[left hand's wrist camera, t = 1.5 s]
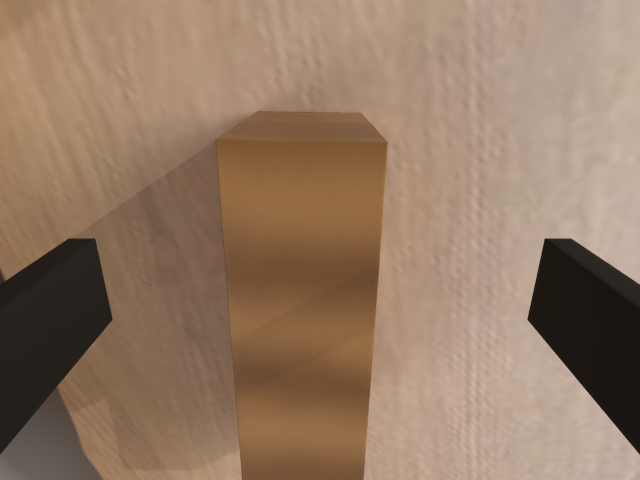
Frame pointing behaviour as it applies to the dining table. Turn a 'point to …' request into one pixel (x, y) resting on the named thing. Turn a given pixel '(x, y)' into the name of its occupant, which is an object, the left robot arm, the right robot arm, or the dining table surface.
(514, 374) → the dining table surface
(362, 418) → the box
